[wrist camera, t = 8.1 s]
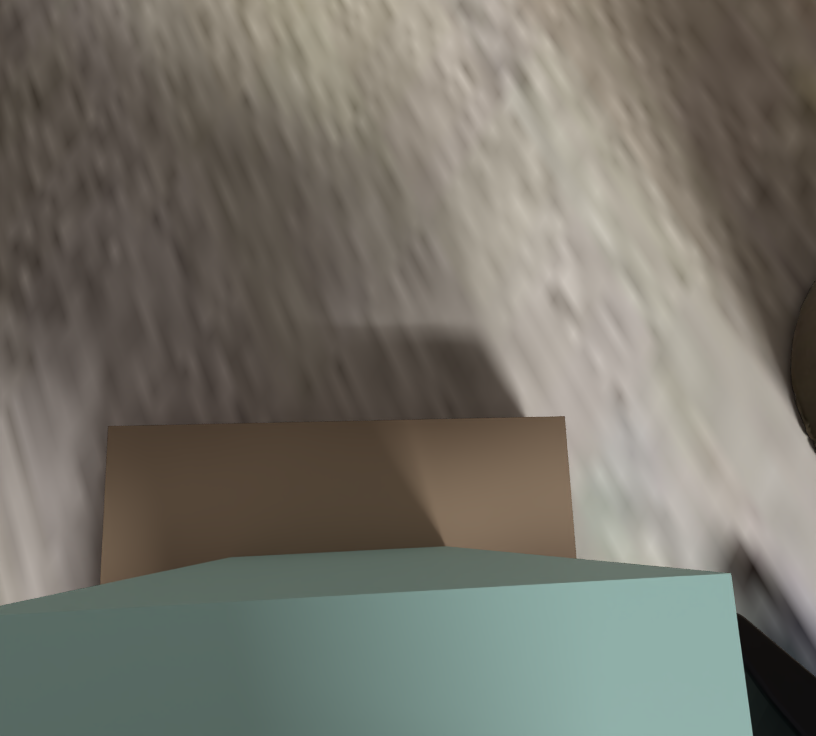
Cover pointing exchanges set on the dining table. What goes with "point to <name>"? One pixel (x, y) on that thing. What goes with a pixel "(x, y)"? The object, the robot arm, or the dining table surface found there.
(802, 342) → the pillar candle
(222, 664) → the pillar
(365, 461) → the walnut base
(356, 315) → the dining table surface
